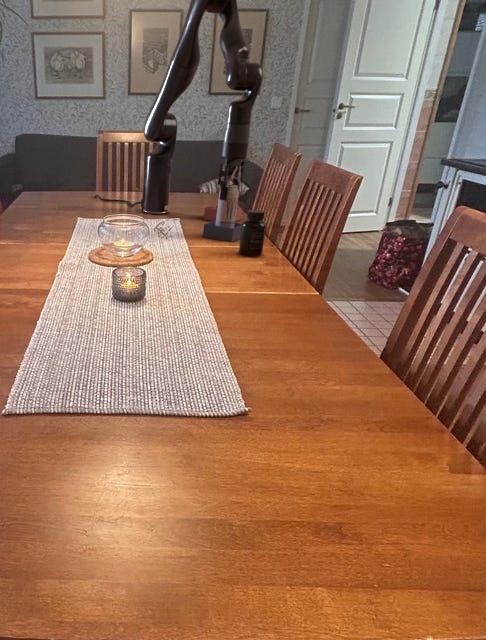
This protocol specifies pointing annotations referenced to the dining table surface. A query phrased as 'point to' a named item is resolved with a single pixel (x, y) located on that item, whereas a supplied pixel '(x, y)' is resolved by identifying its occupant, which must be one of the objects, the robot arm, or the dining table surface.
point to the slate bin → (222, 232)
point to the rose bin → (212, 213)
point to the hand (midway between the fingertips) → (228, 198)
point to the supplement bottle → (252, 234)
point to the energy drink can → (228, 208)
